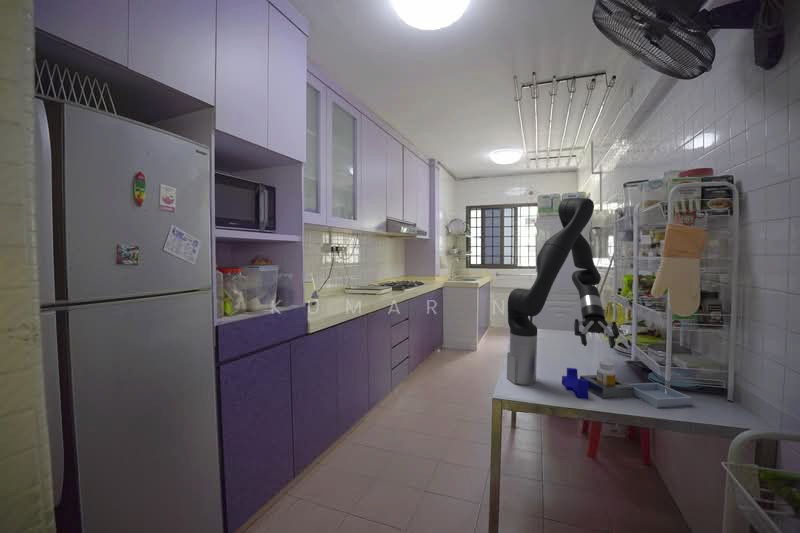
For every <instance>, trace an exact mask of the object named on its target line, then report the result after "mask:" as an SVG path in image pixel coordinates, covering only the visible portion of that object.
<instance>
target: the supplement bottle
mask: <svg viewBox="0 0 800 533" xmlns="http://www.w3.org/2000/svg"><path fill="white" fill-rule="evenodd" d="M614 366H615V365H614V363H613V362H610V361H606V360H605V361H604V360H602V361H599V367H598V368H597V369H596V375H597V382H599V383H601V384H603V385H615V379H616V375H617V374H616V370H614Z"/></svg>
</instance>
